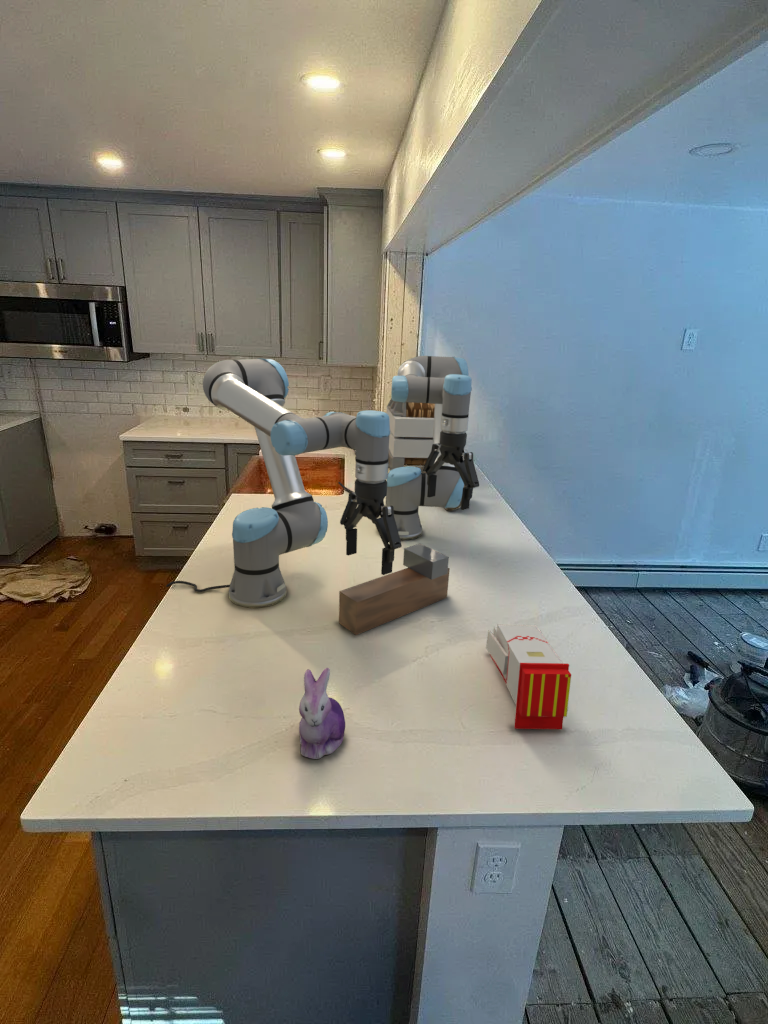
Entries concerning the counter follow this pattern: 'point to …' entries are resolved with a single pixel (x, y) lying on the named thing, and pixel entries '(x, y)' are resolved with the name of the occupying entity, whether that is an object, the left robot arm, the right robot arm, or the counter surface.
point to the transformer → (410, 433)
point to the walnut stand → (388, 599)
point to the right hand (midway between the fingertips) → (447, 502)
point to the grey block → (426, 561)
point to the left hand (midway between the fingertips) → (368, 563)
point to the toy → (531, 675)
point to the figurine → (319, 718)
